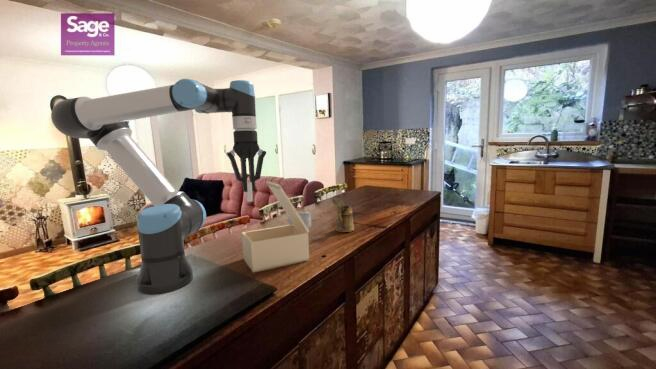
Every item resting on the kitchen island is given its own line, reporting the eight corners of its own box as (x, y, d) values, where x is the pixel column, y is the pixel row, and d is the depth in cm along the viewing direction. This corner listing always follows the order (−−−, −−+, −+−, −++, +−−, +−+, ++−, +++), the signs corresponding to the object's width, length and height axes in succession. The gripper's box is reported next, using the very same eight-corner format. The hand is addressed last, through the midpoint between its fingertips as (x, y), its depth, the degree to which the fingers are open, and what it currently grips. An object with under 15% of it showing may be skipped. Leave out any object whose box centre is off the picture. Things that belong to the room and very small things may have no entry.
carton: (253, 272, 100) (251, 243, 99) (243, 258, 112) (241, 232, 111) (309, 260, 109) (308, 233, 108) (294, 248, 122) (293, 224, 120)
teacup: (300, 235, 139) (300, 218, 138) (283, 231, 146) (283, 215, 144) (320, 228, 150) (319, 212, 149) (303, 225, 156) (302, 209, 155)
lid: (278, 186, 101) (280, 184, 101) (265, 182, 113) (267, 180, 114) (308, 232, 108) (310, 231, 108) (293, 223, 120) (295, 222, 120)
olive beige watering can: (327, 234, 140) (326, 195, 137) (341, 226, 151) (340, 190, 149) (345, 236, 135) (344, 196, 133) (357, 228, 147) (357, 191, 144)
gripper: (226, 129, 95) (232, 205, 98) (267, 129, 101) (271, 200, 104) (222, 131, 101) (227, 201, 104) (261, 130, 107) (265, 197, 110)
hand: (249, 201), depth 104 cm, fingers closed
